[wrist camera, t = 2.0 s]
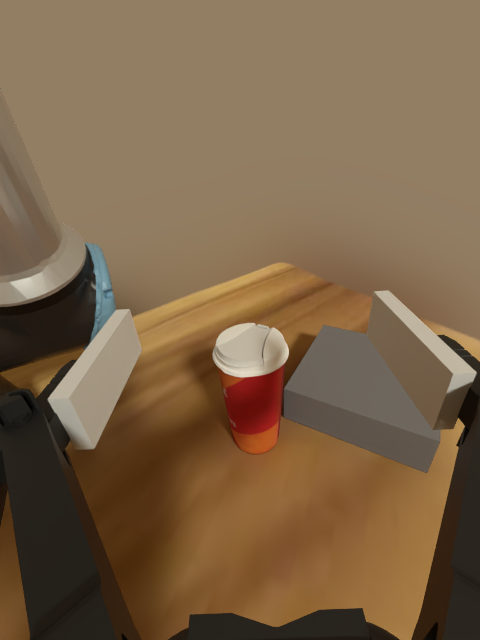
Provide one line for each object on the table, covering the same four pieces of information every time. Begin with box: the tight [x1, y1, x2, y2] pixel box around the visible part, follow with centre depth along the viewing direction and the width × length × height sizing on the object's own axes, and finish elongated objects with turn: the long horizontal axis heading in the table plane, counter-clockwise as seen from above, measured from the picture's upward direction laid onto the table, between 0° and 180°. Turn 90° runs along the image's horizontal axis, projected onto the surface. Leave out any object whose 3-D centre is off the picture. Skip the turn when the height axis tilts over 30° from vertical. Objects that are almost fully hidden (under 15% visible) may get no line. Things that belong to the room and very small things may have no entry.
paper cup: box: [212, 323, 289, 454], centre depth 33 cm, size 8×8×14 cm
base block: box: [284, 325, 440, 473], centre depth 39 cm, size 16×16×5 cm
